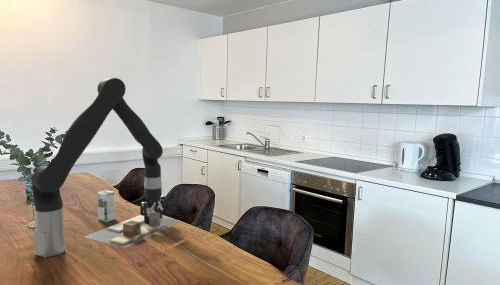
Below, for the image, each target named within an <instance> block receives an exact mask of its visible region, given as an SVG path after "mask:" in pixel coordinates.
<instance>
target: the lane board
mask: <svg viewBox="0 0 500 285" xmlns="http://www.w3.org/2000/svg"><path fill="white" fill-rule="evenodd" d="M129 219H130V218H128V219H127V220H129ZM121 222H122V221H121ZM121 222H119V223H121ZM181 222H182V221H180V220H176V219H170V218H164V217H162V219H160V225H162V228H159V229H157V230H155V231H153V232H151V233H149V234H146V235H144V236H142V237H140V238H138V239H136V240H133V241H131V242H129V243H127V244H125V245H118V244H114V243H110V241H109V240H111V239H113V238H115V237H118V236H120V235H122V234H123V231H121V232H115V231H111V230H108V227H109V226H108V227H105V228H103V229H100V230H97V231H95V232H93V233H90V234H87V235H85V236H83V238H85V239H89V240H91V241H92V240H94V241H97V242H100V243H104V244H108V245H113V246H116V247H120V248H124V249H126V248H128V247H130V246H133V245H135V244H137V243H139V242H141V241H143V240H145V239H147V238H149V237H151V236H154V235H157V234H158V233H160V232H162V231H165V230H166V229H168V228H169V229H170V228H171V227H173V226H175V225H177V224H180V223H181ZM144 225H146V224H145V223H144V222H143V223H141V226H144Z"/></svg>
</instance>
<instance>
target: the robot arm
mask: <svg viewBox="0 0 500 285" xmlns="http://www.w3.org/2000/svg"><path fill="white" fill-rule="evenodd" d="M96 90H97V93H98V95H97V96H96V98H95V99H94V100H93V102H92V103H91V104H90V105H89V106H88V107H87V108H86V109H85V110H84V111H82V112H81V114H79V115H78V116H77V117H76V118H75V119H74V121H73V122H72V123H71V125H70V126H69V127H68V129H67V131H66V133H65V134H64V136H63V138H62V141H61V144H60V147H59V149H58V151H57V153H56V155H54V158H52V160H51V161H50V163H49V164H48V165H42V166H39V167H37V169H35V170H34V172H33V174H32V177H31V186H32V197H33V198H32V200H33V204H34V208H35V209H34V210H35V211H34V212H35V229H34V231H33V237H34V238H33V239H34V240H33V241H34V255H35V256H38V257H42V258H45V259H46V258H49V257H55V256H57V255H60V254H61V255H62V253H64V252H65V251H66V247H65V246H66V245H65V226H64V222H65V221H64V202H63V201H64V200H63V199H62V195H61V188H62V186H64V183H65V181H66V179H67V178H68V176H69V174H70V172H71V171H72V168H73V167H74V165H75V164H76V162H77V161H78V159H79V158H80V157H81V156H82V154H83V153H84V151H85V150H86V148H88V146H89V144H90V143H91V142H92V140H93V139H94V138H95V136H96V135H97V133H98V132H99V130H100V128H101V127H102V126H103V124H104V122H105V121H106V119H107V117H108V115H110V113H111V112H112V110H113V111H114V113H115V114H116V115H117V116H118V118H119V120H121V121H122V123H123V125H125V127H126V128H127V130H128V131H129V133H130V134H131V135H132V138H134V140H135V141H136V142H137V143H139V145H140V146H142V151H141V152H142V153H141V154H142V160H143V164H144V165H143V166H144V186H143V187H144V189H143V190H144V198H145V201H141V202H140V212H139V215H142V216H144V223H145V224H149V223H150V222H149V215H150V212H152V210H153V209H156V210H157V211H156V212H160V219H162V218H163V210H164V209H166V206H167V205H166V196H165V195H163V194H162V191H163V190H162V189H163V187H162V183H163V182H162V167H161V165H160V163H159V159H160V158H161V157H162V156H163V150H164V149H163V147H162V145H161V143H160V141H158V139H156V138H155V136H154V135H153V134H152V133H151V132H150V130H149V129H148V127H147V125H146V124H145V122H144V121H143V120H142V119H141V117H140V116H139V115H138V114H136V112H135V111H134V110H133V109H132V108H131V107H130V106H129V105H128V103H127V102H126V101H125V98H124V96H125V94H126V84H125V82H124V81H123V80H122V79H120V78H118V77H109V78H105V79H103V80H101V81H100V82H99V83H98V85H97V89H96ZM148 208H149V209H148ZM143 211H144V213H143ZM147 211H148V213H147Z"/></svg>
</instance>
